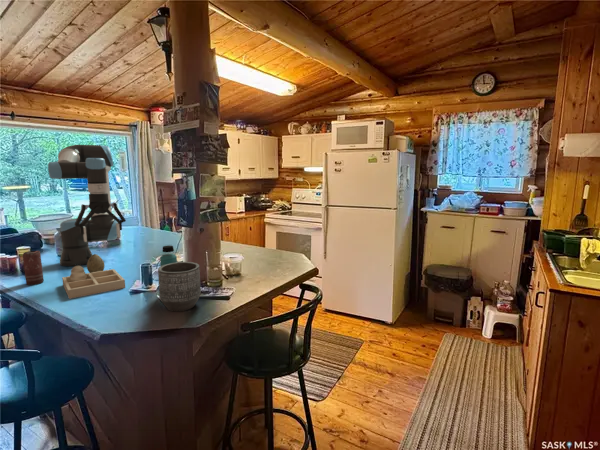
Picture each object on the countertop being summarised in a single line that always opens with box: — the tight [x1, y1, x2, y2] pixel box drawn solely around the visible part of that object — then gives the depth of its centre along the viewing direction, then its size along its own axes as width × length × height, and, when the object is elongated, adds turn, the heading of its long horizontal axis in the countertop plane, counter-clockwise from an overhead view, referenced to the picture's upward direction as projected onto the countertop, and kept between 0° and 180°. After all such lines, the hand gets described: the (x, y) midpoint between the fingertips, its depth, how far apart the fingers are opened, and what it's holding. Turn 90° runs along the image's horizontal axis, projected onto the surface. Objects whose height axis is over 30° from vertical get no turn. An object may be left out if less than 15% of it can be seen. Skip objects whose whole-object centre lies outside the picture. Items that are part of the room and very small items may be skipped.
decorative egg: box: [86, 253, 105, 273], centre depth 163 cm, size 7×7×10 cm
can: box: [22, 250, 44, 286], centre depth 151 cm, size 6×6×14 cm
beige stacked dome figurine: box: [69, 265, 87, 282], centre depth 148 cm, size 6×6×8 cm
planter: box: [157, 261, 202, 312], centre depth 126 cm, size 14×14×15 cm
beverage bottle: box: [159, 244, 178, 267], centre depth 137 cm, size 6×7×20 cm
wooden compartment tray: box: [62, 268, 126, 300], centre depth 148 cm, size 20×20×4 cm
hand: (102, 239), depth 159 cm, fingers open, 13 cm apart
